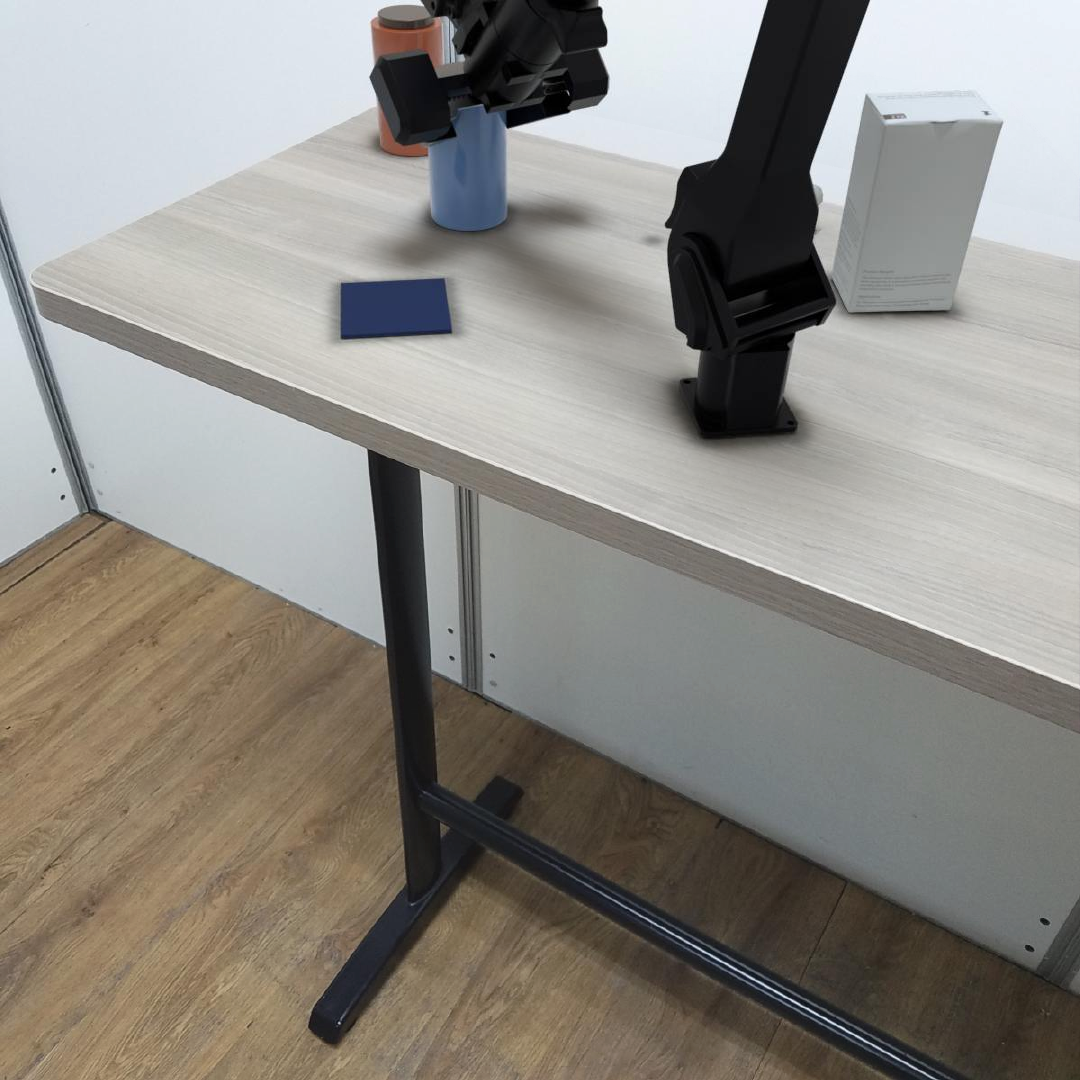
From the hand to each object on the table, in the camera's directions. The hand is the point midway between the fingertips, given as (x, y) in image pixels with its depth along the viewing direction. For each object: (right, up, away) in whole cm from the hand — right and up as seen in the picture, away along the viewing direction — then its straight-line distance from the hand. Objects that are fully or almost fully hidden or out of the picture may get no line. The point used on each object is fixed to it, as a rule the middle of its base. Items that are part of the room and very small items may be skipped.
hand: (459, 133), depth 91 cm
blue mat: (-4, -17, -9) cm, 20 cm away
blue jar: (+1, -6, +3) cm, 7 cm away
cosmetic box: (+34, -15, -6) cm, 38 cm away
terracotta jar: (-6, +5, +16) cm, 17 cm away
